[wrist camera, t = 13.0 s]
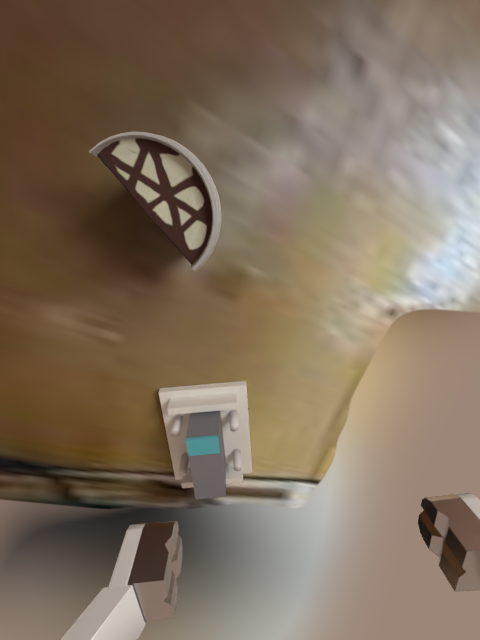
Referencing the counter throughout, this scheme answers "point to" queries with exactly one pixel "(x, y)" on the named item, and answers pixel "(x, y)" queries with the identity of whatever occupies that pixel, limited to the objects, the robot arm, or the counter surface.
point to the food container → (167, 189)
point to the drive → (206, 454)
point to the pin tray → (233, 419)
